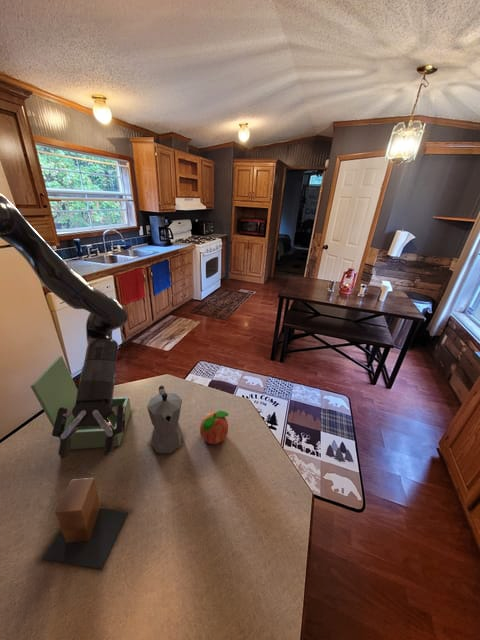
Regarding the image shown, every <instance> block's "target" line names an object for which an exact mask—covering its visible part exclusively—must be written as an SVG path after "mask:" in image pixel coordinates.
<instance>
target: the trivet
mask: <svg viewBox="0 0 480 640" xmlns="http://www.w3.org/2000/svg"><path fill="white" fill-rule="evenodd" d="M128 514H129V512H127V511H121V510H115V509H109V508H102V507H100V510H99V513H98V516H97V519H96V522H95V525H94V528H93V531H92V534H91V537H90V540H88V541H79V542H71V543H66V542H65V539H64V536H63V533H62V530H61V529H60V530H59V532H58V533H57V535H56V537H55V538H54V540H53V541H52V543H51V544H50V546H49V547H48V549H47V551H46V552H45V553H44V555H43V557H42V558H41V559H42V561H47V562H48V561H49V562H54V563H61V564H65V565H72V566H77V567H82V568H88V569H93V570H94V569H95V570H100V571H102V570H103V568H104V566H105V564H106V561H107V560H108V557H109V555H110V553H111V551H112V549H113V547H114V544H115V542H116V540H117V538H118V536H119V534H120V531H121V529H122V528H123V525H124V523H125V520H126V519H127V517H128Z"/></svg>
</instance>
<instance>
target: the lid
mask: <svg viewBox="0 0 480 640" xmlns="http://www.w3.org/2000/svg"><path fill="white" fill-rule="evenodd" d="M30 388H31V391H32V392H33V394H34V395H35V397H36V400H37V401H38V403H39V405H40V407H41V408H42V410H43V411H44V413H45V415H46V417H47V419H48V421H49V422H50V424H51V426H52V428H54V424H55V421H56V417H57V413H58V410H59V408H61V407H63V408H74V406H75V404H76V397H77V392H78V387H77V386H76V383H75V381H74V379H73V377H72V374H71V372H70V371H69V369H68V366H67V364H66V362H65V360H64V358H63V356H62V355H58V357H56V358H55V360H53V362H52V363H51V364H50V365H49V366H48V367H47V369H45V370H44V371H43V372H42V373H41V374H40V375H39V377H37V379H35V381H34V382H33V383H32V384H31V385H30ZM67 419H68V418H67Z"/></svg>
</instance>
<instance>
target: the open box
mask: <svg viewBox="0 0 480 640" xmlns="http://www.w3.org/2000/svg"><path fill="white" fill-rule="evenodd" d="M120 405H123V406H125V407H126V414H125V428H126V427H127V424H128V422H129V419H130V415H131V412H132V409H131V408H132V407H131V401H130V396H116V397H115V396H113V399H112V406H113V407H116V406H120ZM74 419H75V418H74V416H73V414H71V415H70V417H68V419H67V421H66V425H65V429H64V431H65V430H66V429H67V428H68V426H69V425H70V424H71V423H72V421H73V420H74ZM108 419H109V421H110V422H111V424H112V426H113V428H114V429H116V425H117V416H116V415H115V413H114V411H113V412H112V413H111V414H110V416H109V417H108ZM124 433H125V431H124V432H122V433H120V434H117V435H116V436H115V440H114V447H119V446H121V445H120V444H121V441H122V439H123V437H124ZM106 437H107V434H106V432H105V431H104V429H102V427H101V426H89V427H80V429H78V430H77V431H76V432H75V433H74V434H73V435H72V436H71V438H70V439H72V440H71V446H70V450H79V449H93V448H94V449H95V448H104V447H105V440H106ZM58 438H59V437H58ZM59 442H61V439H60V438H59Z"/></svg>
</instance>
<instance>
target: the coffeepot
mask: <svg viewBox="0 0 480 640" xmlns="http://www.w3.org/2000/svg"><path fill="white" fill-rule="evenodd" d="M158 393H159V394H156V395H154V396H152V397H150V400H149V402H148V404H147V406H146V408H147V412H148V414H149V415H148V416H149V418H150V422H151V425H152V426H153V430H152V435H151V442H150V446H151V447H152V448H153V449H154V451H155V452H156V453H157V454H171V453H172V452H174V451H175V450H177V449H179V448H180V447H181V444H182V440H183V433H182V429H181V425H180V423H179V421H180V417H181V410H182V403H183V399H182V398H181V397H180V396H179V395H178V394H177V393H175V392H166V388H165V385H160V386H159V387H158Z"/></svg>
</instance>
